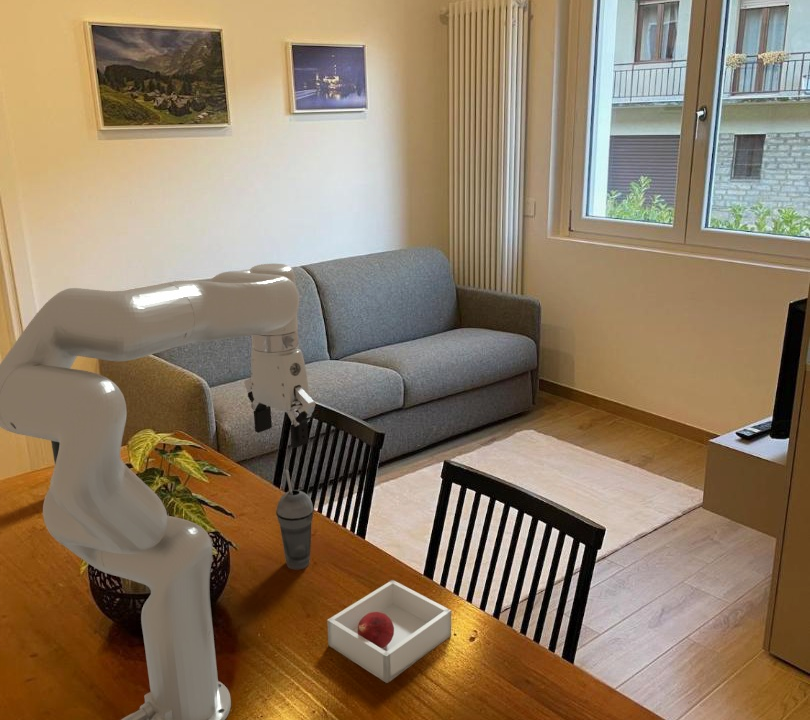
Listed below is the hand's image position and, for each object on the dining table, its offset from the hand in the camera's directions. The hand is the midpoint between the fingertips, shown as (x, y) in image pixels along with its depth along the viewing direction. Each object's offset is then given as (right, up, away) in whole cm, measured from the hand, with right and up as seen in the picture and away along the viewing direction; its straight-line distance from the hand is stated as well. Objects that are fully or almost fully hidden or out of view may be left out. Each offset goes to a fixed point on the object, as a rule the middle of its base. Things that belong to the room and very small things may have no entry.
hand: (281, 437), depth 132 cm
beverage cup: (0, -27, +22) cm, 35 cm away
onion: (+18, -32, -2) cm, 37 cm away
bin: (+18, -34, -1) cm, 39 cm away
